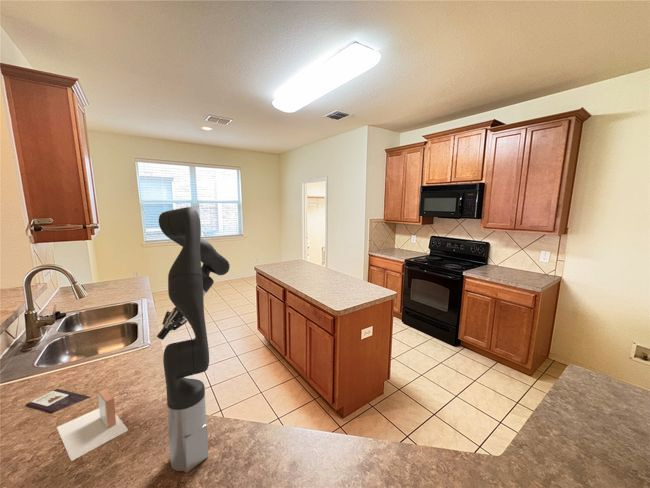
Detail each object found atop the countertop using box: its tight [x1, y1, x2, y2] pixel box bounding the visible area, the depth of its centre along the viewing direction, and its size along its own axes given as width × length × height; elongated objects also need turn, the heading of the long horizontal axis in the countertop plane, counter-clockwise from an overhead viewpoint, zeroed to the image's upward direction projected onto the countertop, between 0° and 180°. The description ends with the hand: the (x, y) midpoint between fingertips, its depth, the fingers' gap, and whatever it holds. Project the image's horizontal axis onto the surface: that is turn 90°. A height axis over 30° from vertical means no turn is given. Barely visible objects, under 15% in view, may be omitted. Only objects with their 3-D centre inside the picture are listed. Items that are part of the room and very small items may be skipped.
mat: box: [56, 407, 129, 462], centre depth 81 cm, size 20×13×1 cm, turn 54°
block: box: [97, 388, 116, 428], centre depth 84 cm, size 8×2×9 cm, turn 54°
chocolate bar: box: [25, 388, 91, 414], centre depth 95 cm, size 9×1×18 cm
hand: (159, 338), depth 95 cm, fingers closed
